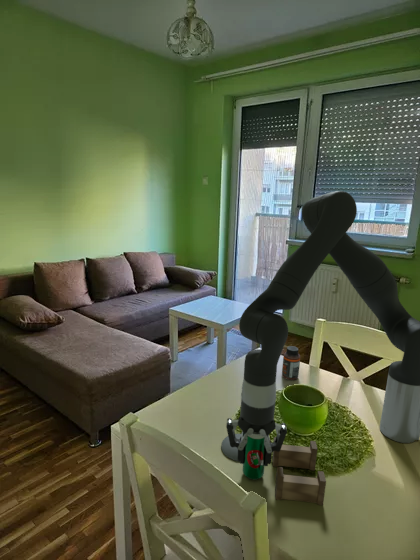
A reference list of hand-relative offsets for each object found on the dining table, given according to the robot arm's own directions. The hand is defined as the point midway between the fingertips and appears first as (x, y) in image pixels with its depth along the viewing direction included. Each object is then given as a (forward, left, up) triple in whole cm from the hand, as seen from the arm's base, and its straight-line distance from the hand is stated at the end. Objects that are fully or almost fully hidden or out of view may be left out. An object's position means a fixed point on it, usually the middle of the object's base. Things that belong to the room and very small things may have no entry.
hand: (253, 462), depth 84 cm
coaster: (+3, -9, -3) cm, 10 cm away
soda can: (0, 0, -3) cm, 3 cm away
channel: (-10, 0, -3) cm, 10 cm away
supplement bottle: (-14, -50, -4) cm, 52 cm away
